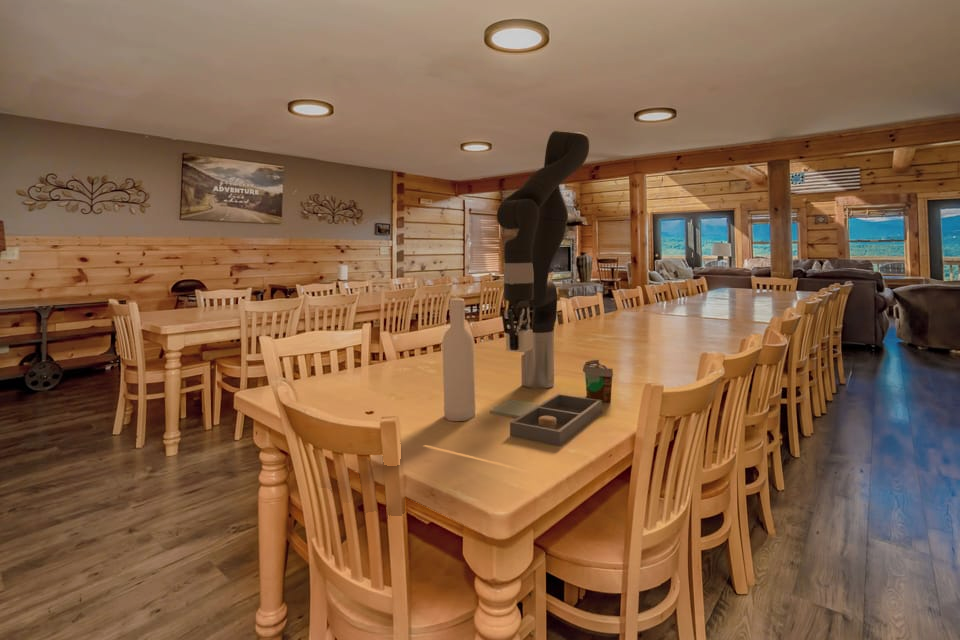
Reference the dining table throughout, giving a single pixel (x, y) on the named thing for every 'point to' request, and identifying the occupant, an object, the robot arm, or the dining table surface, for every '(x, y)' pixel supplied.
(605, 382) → the food container
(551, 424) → the tan oval stone
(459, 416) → the bottle
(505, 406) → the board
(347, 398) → the dining table surface
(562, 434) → the organiser tray
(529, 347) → the letter cube
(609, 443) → the dining table surface
